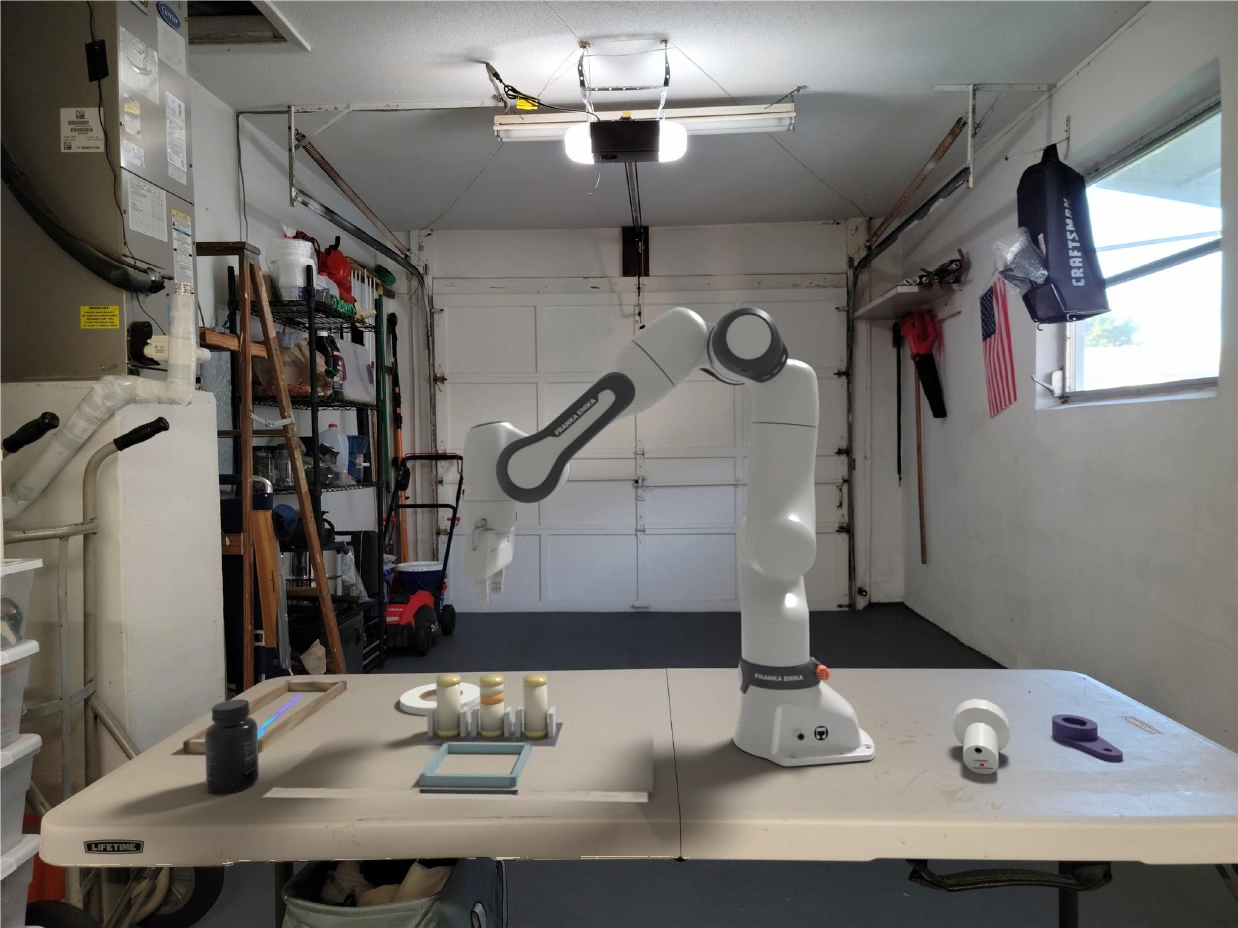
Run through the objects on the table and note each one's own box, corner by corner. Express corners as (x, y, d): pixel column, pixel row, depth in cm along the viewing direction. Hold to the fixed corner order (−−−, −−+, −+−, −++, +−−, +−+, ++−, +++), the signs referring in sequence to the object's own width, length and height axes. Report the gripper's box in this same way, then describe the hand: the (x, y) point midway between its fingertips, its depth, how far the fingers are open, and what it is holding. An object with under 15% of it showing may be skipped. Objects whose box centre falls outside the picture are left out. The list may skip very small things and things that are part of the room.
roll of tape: (404, 698, 140) (404, 684, 140) (481, 692, 143) (481, 678, 143) (395, 726, 125) (394, 710, 125) (481, 719, 128) (480, 704, 128)
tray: (531, 758, 110) (531, 742, 110) (516, 794, 98) (515, 776, 98) (445, 757, 110) (445, 741, 110) (419, 793, 98) (419, 775, 98)
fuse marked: (506, 728, 119) (505, 673, 119) (501, 737, 115) (500, 681, 115) (483, 728, 119) (482, 673, 119) (477, 737, 115) (476, 681, 115)
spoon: (256, 746, 117) (256, 739, 117) (232, 746, 117) (232, 740, 117) (314, 696, 142) (314, 691, 142) (294, 697, 142) (294, 691, 142)
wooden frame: (346, 689, 145) (346, 680, 145) (259, 753, 113) (259, 742, 113) (287, 688, 146) (286, 680, 146) (183, 752, 114) (183, 741, 114)
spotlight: (1014, 743, 110) (1003, 696, 109) (1017, 786, 100) (1004, 735, 99) (959, 742, 114) (948, 697, 113) (957, 784, 104) (944, 735, 103)
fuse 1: (463, 728, 119) (463, 673, 119) (457, 737, 115) (456, 681, 115) (441, 728, 120) (440, 673, 120) (433, 737, 116) (433, 681, 116)
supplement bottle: (247, 770, 107) (246, 693, 107) (266, 782, 103) (265, 702, 103) (198, 786, 102) (197, 705, 102) (216, 800, 97) (215, 715, 97)
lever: (1043, 733, 117) (1043, 715, 117) (1078, 731, 118) (1077, 713, 118) (1098, 764, 105) (1098, 743, 105) (1136, 762, 106) (1136, 741, 106)
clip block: (563, 729, 122) (562, 699, 121) (554, 753, 112) (554, 721, 112) (435, 728, 123) (435, 699, 123) (416, 751, 113) (415, 720, 113)
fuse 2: (549, 728, 119) (548, 674, 119) (545, 738, 115) (544, 681, 115) (526, 728, 119) (525, 674, 119) (521, 738, 115) (521, 681, 115)
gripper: (493, 522, 107) (494, 611, 107) (519, 512, 127) (520, 587, 127) (453, 522, 107) (454, 610, 107) (486, 512, 127) (486, 587, 127)
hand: (490, 597), depth 117 cm, fingers open, 8 cm apart
